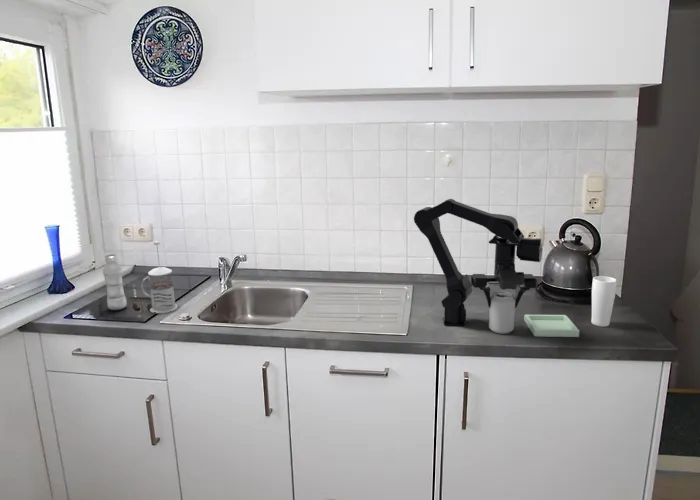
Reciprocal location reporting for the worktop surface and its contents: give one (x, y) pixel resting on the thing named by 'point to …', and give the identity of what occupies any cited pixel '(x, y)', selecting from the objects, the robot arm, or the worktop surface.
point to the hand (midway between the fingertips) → (502, 307)
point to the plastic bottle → (114, 283)
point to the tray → (551, 326)
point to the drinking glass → (602, 300)
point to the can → (502, 312)
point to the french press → (161, 290)
